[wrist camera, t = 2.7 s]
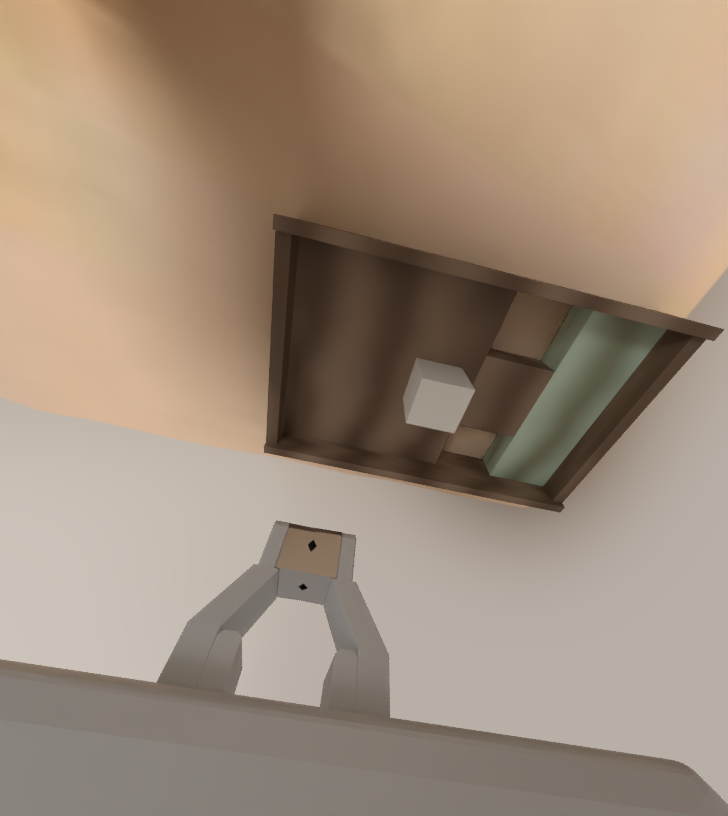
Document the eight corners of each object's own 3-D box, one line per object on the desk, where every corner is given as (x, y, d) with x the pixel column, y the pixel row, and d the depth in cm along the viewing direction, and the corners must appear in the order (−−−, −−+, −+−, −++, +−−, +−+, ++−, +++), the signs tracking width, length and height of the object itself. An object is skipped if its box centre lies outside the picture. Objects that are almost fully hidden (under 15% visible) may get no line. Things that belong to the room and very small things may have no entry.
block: (402, 398, 26) (405, 423, 22) (416, 357, 24) (422, 378, 20) (444, 407, 26) (454, 433, 22) (462, 368, 24) (475, 390, 20)
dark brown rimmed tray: (280, 422, 31) (264, 452, 27) (295, 218, 21) (273, 213, 17) (536, 476, 33) (559, 512, 28) (660, 312, 23) (724, 329, 19)
